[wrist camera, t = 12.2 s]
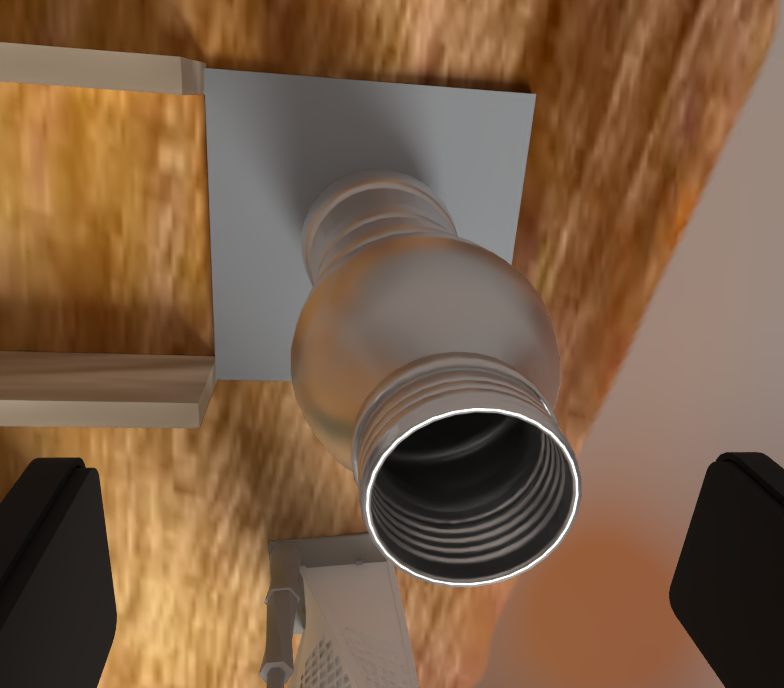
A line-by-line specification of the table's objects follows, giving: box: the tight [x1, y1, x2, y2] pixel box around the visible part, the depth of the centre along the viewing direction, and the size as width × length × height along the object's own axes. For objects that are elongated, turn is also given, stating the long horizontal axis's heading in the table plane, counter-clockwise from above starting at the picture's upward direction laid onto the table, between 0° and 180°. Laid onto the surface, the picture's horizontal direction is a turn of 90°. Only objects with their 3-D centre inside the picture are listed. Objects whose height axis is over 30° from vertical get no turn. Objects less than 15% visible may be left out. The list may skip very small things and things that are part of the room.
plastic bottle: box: [290, 169, 582, 587], centre depth 19 cm, size 6×7×20 cm
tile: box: [204, 68, 536, 381], centre depth 29 cm, size 14×14×1 cm
